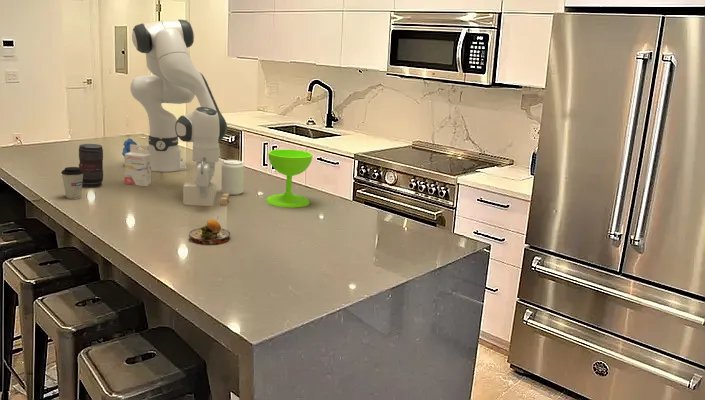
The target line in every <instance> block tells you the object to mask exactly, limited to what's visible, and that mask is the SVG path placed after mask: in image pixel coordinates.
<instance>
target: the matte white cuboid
mask: <svg viewBox="0 0 705 400" xmlns="http://www.w3.org/2000/svg"><path fill="white" fill-rule="evenodd" d="M216 186H217V185H216V182H210V183H209V185H208V187H207V189H206V198H201V193H200V188H198V187H197V185H196V181H186V182H185V183H184V185H183V195H182V196H183V198H182V199H183V206H203V207H204V206H205V207H214V205H215V202H216V189H217V188H216Z"/></svg>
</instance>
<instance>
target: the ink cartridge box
mask: <svg viewBox="0 0 705 400" xmlns="http://www.w3.org/2000/svg"><path fill="white" fill-rule="evenodd" d="M151 183H152V170H151V154H150V146H149V145H143V144H137V145H133V144H130V152H129V153H126V154H125V159H124V184H125V185H131V186H132V185H133V186H139V187H147V186H148V185H151Z"/></svg>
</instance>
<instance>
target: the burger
mask: <svg viewBox="0 0 705 400" xmlns="http://www.w3.org/2000/svg"><path fill="white" fill-rule="evenodd" d="M218 219H219V217H217V218H216V220H215V219H209V220H208V221H207V222H206V224H205V225H204V226H203V225H202V227H200V228H196V229H192V230H190V232H189V233H188V237H189V238H192V243H193V244H194V243H195V244H197V245H198V244H200V242H201V243H203V245H205V246H209V245H210V246H212V245H213V244H214V245H215V244H219V245H221V244H224V243H225V242H226V243H227V242H228V241H230V239H231V237H230V235H231V232H230V231H229V230H227V229H224V228H222V226H221V224H220V222H218Z"/></svg>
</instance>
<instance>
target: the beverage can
mask: <svg viewBox="0 0 705 400" xmlns="http://www.w3.org/2000/svg"><path fill="white" fill-rule="evenodd" d="M243 162H244V161H242V160H236V159H225V160H223V162H222V164H221V180H220V181H221V184H220V185H221V187H220V189H221V190H220V191H221V193H222V194H223V193H227V194H229V196H237V195H241V194H243V192H244V176H245V173H244V172H245V165H244V163H243Z"/></svg>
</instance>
